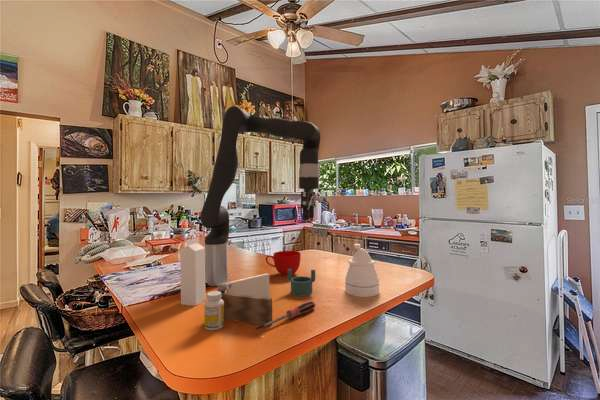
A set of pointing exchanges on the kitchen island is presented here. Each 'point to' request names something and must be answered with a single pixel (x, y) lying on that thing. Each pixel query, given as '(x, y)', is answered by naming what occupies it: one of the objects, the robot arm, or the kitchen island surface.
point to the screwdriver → (292, 313)
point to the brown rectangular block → (247, 308)
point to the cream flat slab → (248, 286)
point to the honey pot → (361, 275)
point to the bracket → (301, 284)
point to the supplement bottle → (214, 311)
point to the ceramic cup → (285, 261)
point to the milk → (192, 273)
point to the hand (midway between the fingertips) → (308, 219)
